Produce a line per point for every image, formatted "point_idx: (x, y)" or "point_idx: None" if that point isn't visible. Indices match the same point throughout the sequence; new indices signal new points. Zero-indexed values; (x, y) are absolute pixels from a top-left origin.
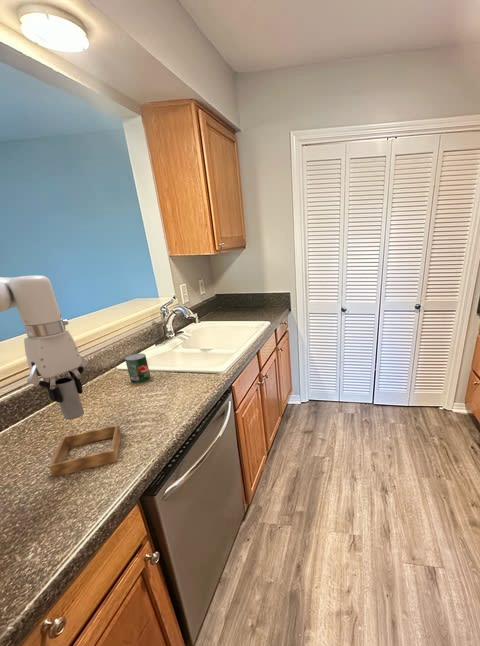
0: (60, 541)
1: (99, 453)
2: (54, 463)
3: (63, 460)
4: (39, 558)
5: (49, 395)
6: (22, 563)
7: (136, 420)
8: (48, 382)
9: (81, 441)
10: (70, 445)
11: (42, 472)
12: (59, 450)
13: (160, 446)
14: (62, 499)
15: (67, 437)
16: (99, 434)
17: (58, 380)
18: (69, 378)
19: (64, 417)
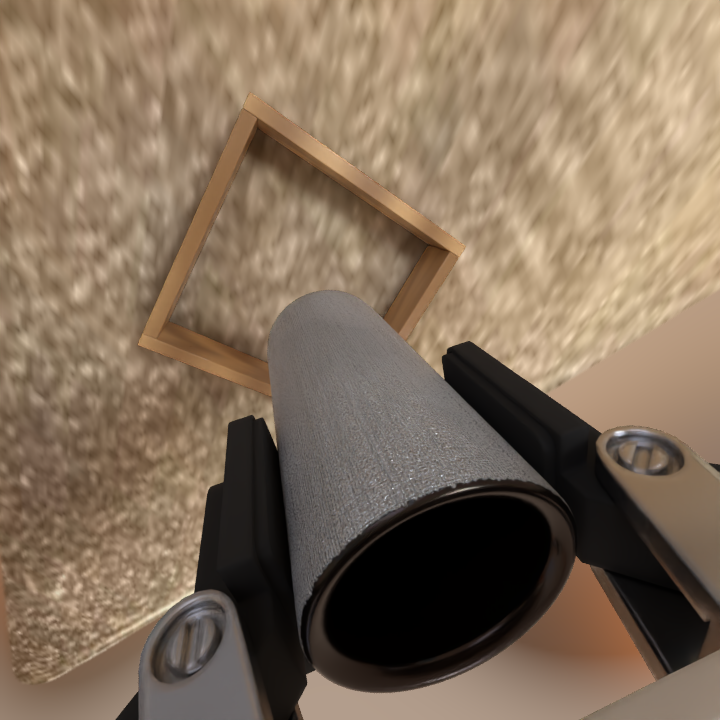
0: (124, 590)
1: None
2: (162, 328)
3: (208, 234)
4: (76, 607)
5: (204, 523)
6: (40, 601)
7: (537, 183)
8: (243, 699)
9: (312, 162)
10: (266, 133)
11: (118, 246)
12: (201, 239)
13: None
14: (155, 462)
15: (267, 124)
16: (384, 210)
17: (426, 510)
18: (546, 537)
19: (267, 356)
